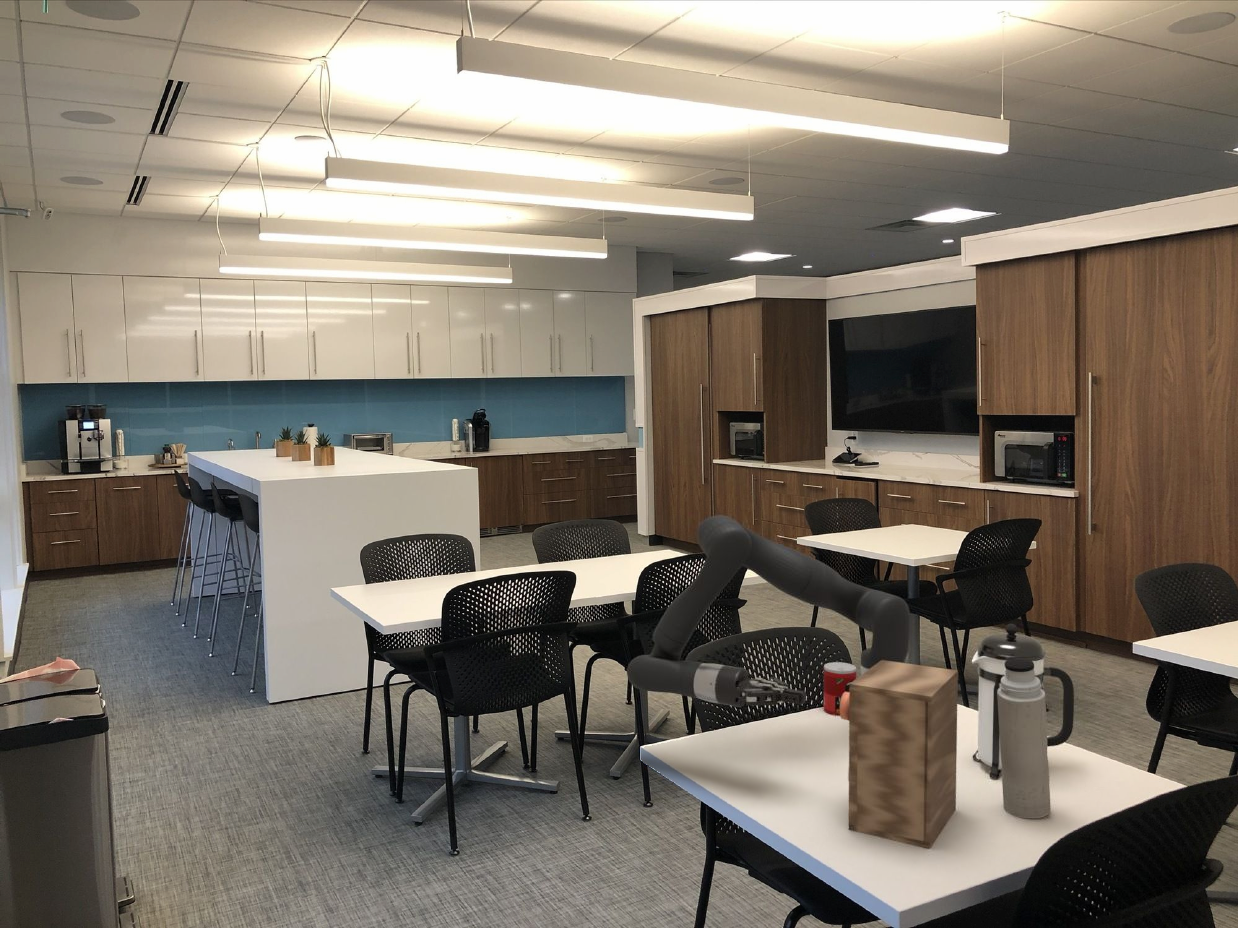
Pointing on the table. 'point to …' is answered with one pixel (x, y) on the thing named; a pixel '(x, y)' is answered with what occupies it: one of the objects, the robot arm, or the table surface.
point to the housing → (903, 751)
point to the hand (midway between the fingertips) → (804, 698)
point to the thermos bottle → (1023, 741)
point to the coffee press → (990, 673)
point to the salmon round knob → (844, 706)
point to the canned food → (836, 684)
